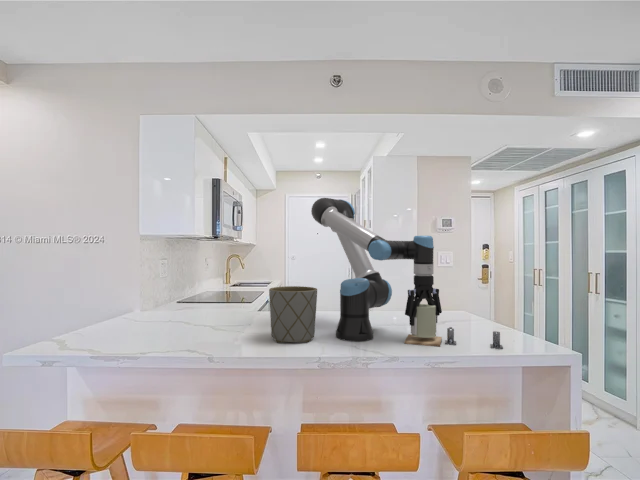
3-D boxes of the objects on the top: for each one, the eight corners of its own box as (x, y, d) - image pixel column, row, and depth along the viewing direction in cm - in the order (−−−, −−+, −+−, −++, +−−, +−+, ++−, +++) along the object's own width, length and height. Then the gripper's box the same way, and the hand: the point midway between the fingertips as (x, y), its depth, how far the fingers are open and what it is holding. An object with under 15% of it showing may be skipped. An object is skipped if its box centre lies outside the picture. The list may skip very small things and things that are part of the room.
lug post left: (444, 344, 146) (444, 329, 146) (445, 341, 151) (445, 326, 151) (456, 345, 145) (456, 330, 145) (456, 341, 150) (456, 327, 150)
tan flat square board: (404, 343, 147) (404, 341, 147) (408, 336, 159) (408, 334, 159) (440, 346, 143) (440, 344, 143) (441, 338, 155) (441, 336, 155)
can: (424, 339, 145) (424, 306, 145) (406, 334, 152) (406, 303, 152) (441, 335, 150) (441, 304, 150) (422, 331, 157) (422, 302, 158)
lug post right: (491, 349, 140) (491, 333, 140) (490, 345, 145) (490, 330, 145) (503, 350, 138) (503, 334, 139) (501, 346, 143) (501, 331, 143)
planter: (318, 344, 145) (318, 291, 145) (267, 345, 143) (267, 291, 144) (315, 333, 164) (315, 286, 164) (270, 333, 162) (270, 286, 163)
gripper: (407, 276, 143) (407, 337, 143) (451, 274, 153) (451, 332, 152) (395, 275, 150) (395, 333, 150) (438, 273, 159) (438, 328, 159)
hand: (423, 332), depth 151 cm, fingers closed on can, 9 cm apart
